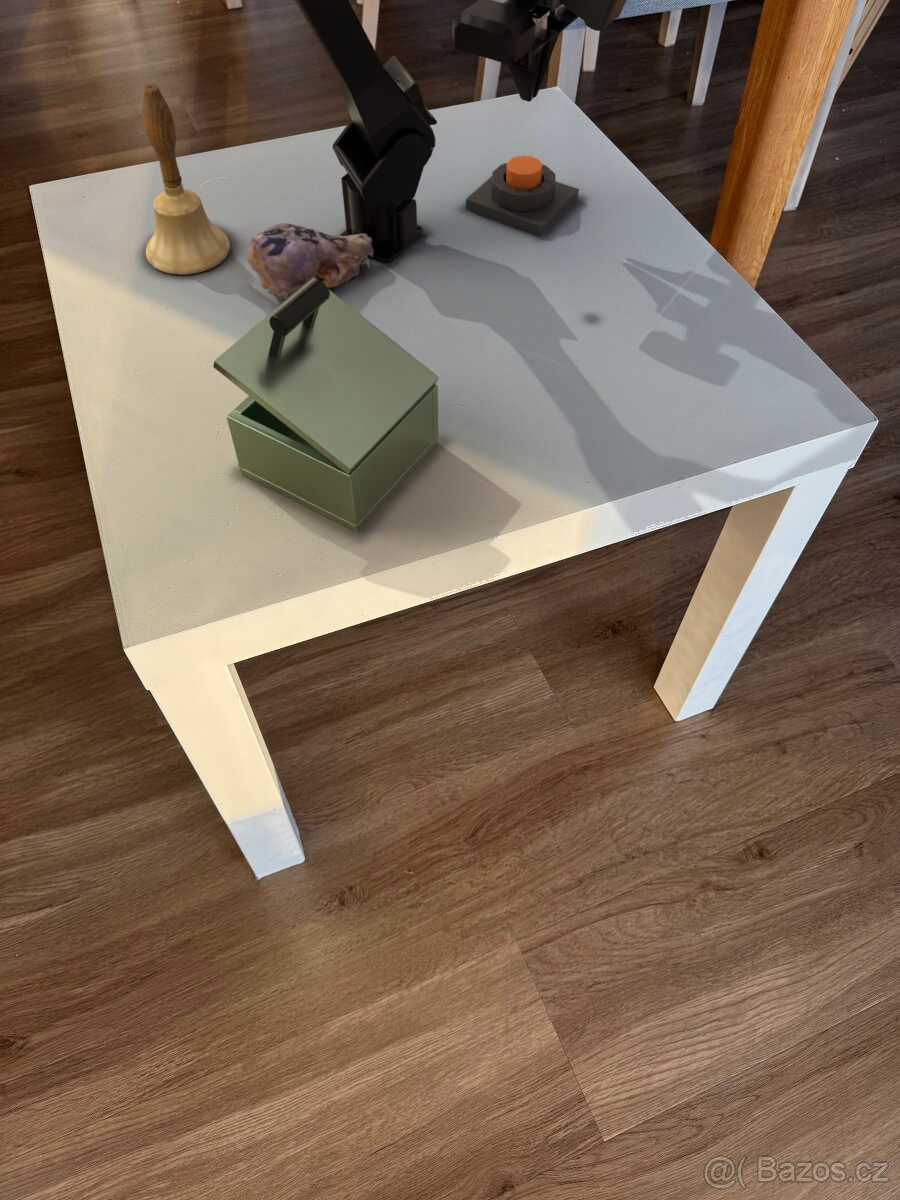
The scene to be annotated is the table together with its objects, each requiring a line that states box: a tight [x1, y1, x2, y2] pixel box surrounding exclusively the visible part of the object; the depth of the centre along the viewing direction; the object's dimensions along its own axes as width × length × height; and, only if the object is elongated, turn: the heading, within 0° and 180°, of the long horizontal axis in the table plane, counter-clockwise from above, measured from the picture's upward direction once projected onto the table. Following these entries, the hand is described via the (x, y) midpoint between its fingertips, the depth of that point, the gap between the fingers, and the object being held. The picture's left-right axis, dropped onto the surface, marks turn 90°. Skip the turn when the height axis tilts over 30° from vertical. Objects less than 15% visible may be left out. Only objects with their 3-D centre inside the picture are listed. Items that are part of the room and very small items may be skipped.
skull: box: [247, 222, 374, 300], centre depth 90 cm, size 12×8×6 cm, turn 105°
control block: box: [465, 162, 580, 237], centre depth 98 cm, size 9×8×3 cm
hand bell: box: [141, 83, 231, 276], centre depth 88 cm, size 8×8×16 cm
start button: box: [506, 155, 543, 189], centre depth 97 cm, size 4×4×2 cm
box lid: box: [212, 277, 440, 474], centre depth 69 cm, size 12×12×5 cm
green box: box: [226, 383, 439, 533], centre depth 75 cm, size 12×12×6 cm
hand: (528, 98), depth 91 cm, fingers closed
